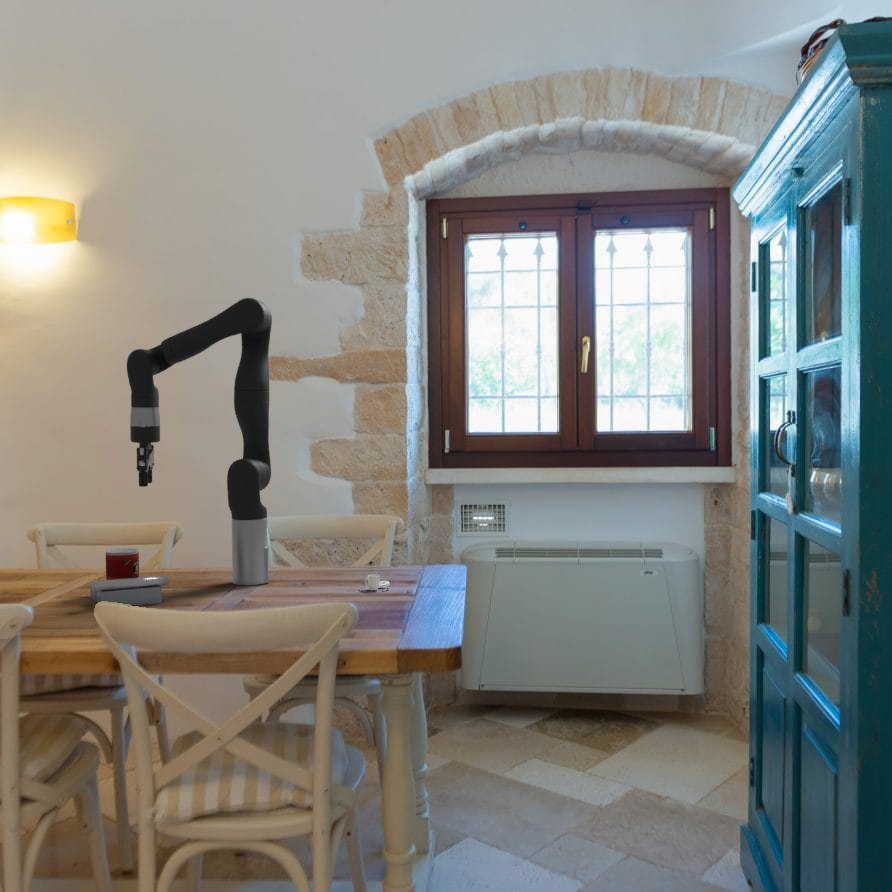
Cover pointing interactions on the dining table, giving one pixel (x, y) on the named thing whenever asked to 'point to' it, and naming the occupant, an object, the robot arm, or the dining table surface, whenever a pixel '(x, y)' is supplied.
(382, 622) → the dining table surface
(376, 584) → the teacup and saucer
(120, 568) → the canned food
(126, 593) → the cradle
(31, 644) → the dining table surface
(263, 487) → the robot arm
